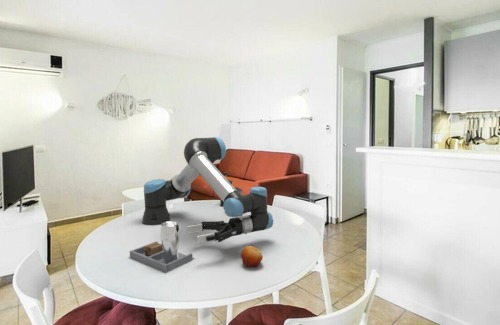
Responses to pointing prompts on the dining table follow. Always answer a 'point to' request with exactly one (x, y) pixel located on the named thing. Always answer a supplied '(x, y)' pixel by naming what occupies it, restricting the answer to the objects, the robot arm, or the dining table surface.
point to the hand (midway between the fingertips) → (191, 234)
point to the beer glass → (170, 240)
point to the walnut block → (153, 249)
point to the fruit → (251, 256)
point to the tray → (159, 259)
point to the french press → (231, 184)
